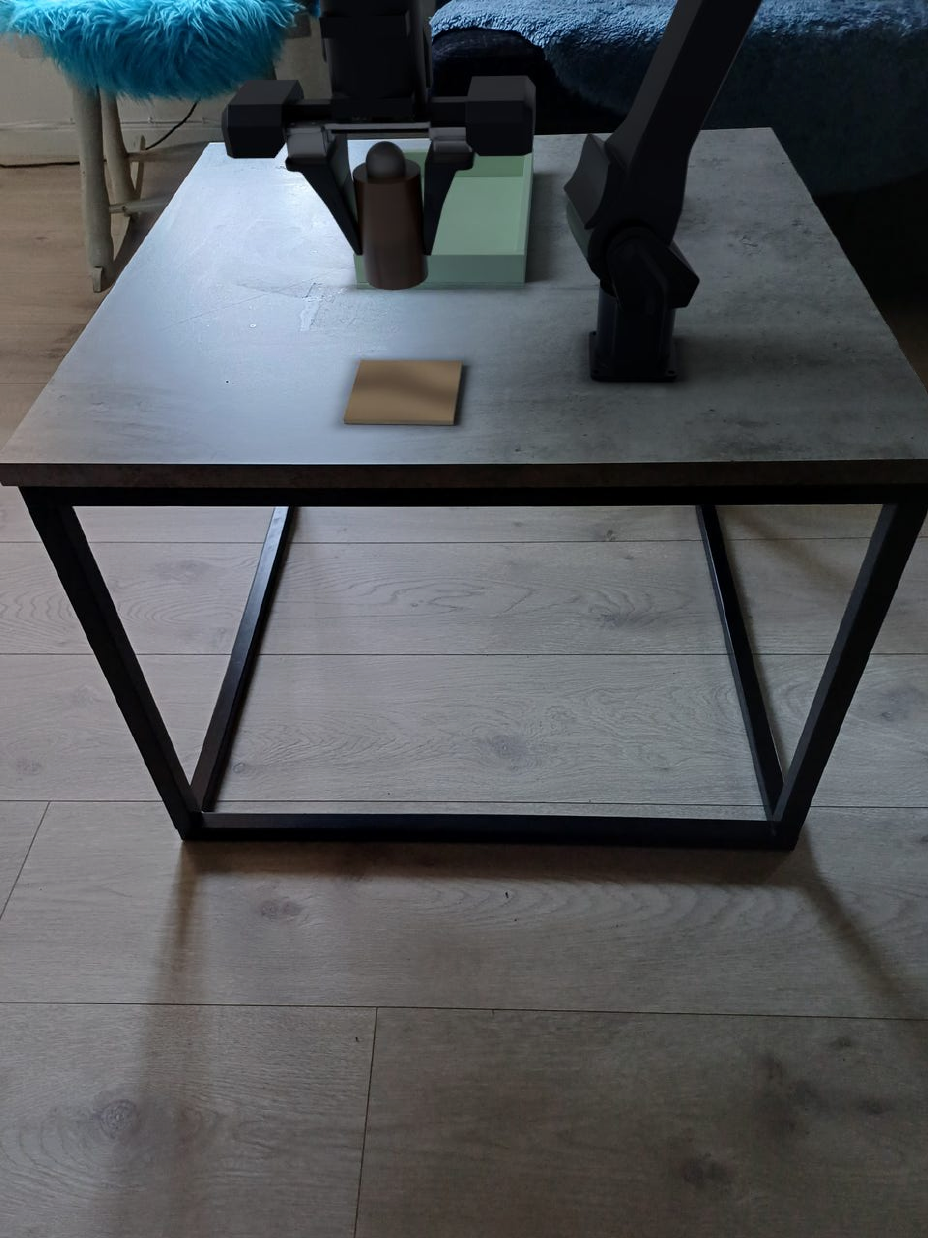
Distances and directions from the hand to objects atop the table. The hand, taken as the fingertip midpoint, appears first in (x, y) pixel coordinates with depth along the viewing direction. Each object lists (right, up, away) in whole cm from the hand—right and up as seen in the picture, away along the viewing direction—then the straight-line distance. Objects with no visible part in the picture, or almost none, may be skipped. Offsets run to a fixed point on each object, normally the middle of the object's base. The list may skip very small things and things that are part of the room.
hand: (395, 252), depth 63 cm
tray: (+4, +12, +26) cm, 29 cm away
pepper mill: (0, -1, +1) cm, 2 cm away
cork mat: (0, -8, +7) cm, 10 cm away
